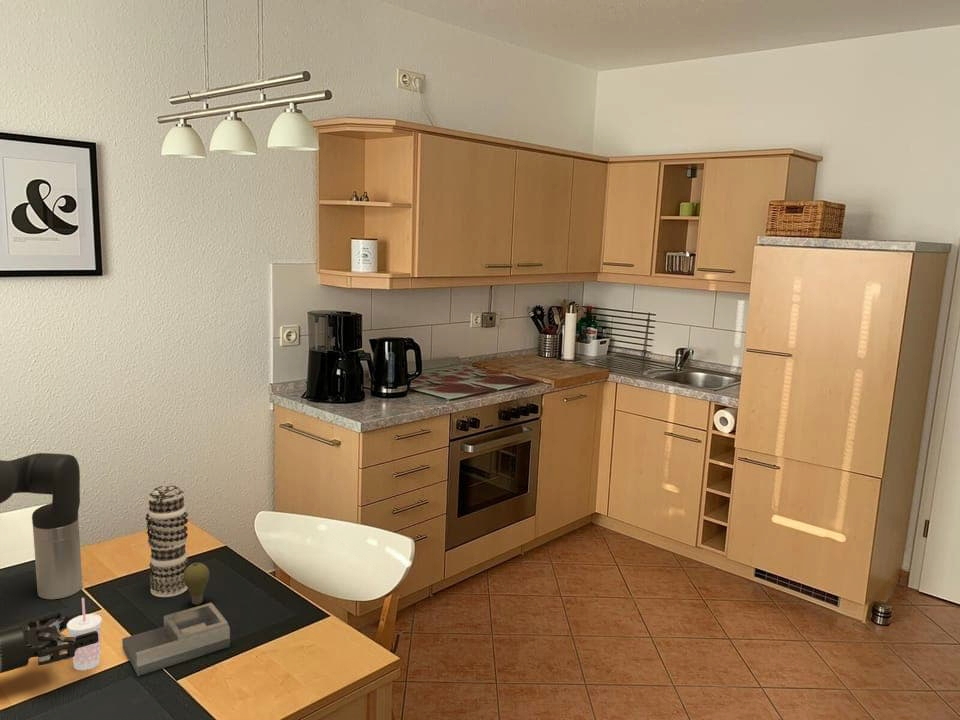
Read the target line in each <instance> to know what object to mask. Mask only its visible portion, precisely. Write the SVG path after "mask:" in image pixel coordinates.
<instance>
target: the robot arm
mask: <svg viewBox="0 0 960 720" xmlns="http://www.w3.org/2000/svg"><path fill="white" fill-rule="evenodd" d="M80 472H81V469H80V465H79V462H78V459H77V457H75V456H73V455H71V454H66V453H52V452H51V453H50V452H37V453H33V454H29V455H26V456H22V457H19V458H16V459H11V460H1V459H0V504H2V503H5V502H6V501H7V500H8V499H10V498H11V496H12V495H13V494H20V493H21V494H22V493H23V494H37V495H38V494H39V495H51V497H52V500H51V501H52V502H51V503H48V504H44V505H42V506H40V507H38V508H36V509H35V510H34V511H33V512H32V514H31V515H32V516H31V523H32V533H33V534H32V536H33V546H34V547H33V548H34V549H33V550H34V562H35V573H36V574H35V575H36V588H37V589H36V592H37V596H38V597H40V598H41V599H45V600H57V599H64V598H68V597H70V596H73V595H75V594H77V593H78V592H79V591H81V590H82V589H83V572H82V571H83V570H82V558H81V557H82V555H81V553H82V552H81V540H80V523H79V509H80V505H81V504H80V503H81V491H80V490H81V489H80V488H81V486H80V485H81V479H80V478H81V476H80V475H81V473H80ZM85 614H90V613H89V612H88V611H85ZM81 615H83V612H81V613H76V614H73V615H68V616H67V615H66V614H65V615H63V614H62V612H55V613H52V614H48V615H44V616H42V617H38V618H34V619H30V620H28V621H27V630H26V629H25V626H24V625H17V626H16V625H15V626H12V627H9V628H5V629H4V628H3V629H0V674H3V673H7V672H10V671H14V670H16V669H20V668H24V667H27V666H28V664H29V662H30V661H29V660H30V659H31V658H32V659H33V658H37V664H38V666H39V667H40V666H44V665H48V664H52V663H56V662H60V661H63V660H67V659H68V660H69V659H71V658H72V659H73V657H74V656H75V651H76V650H77V649H78V648H81V647H84V646H88V645H91V644H95V643H97V642H98V641H99V639H98V632H97V631H93V632H89V633H86V634H82V635H79V636H76V637H70V636H66V635H64V634H63V633H62V632H64V631H65V630H67V623H68V622H69V621H70V620H72V619H73V618H75V617H78V616H81Z"/></svg>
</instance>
